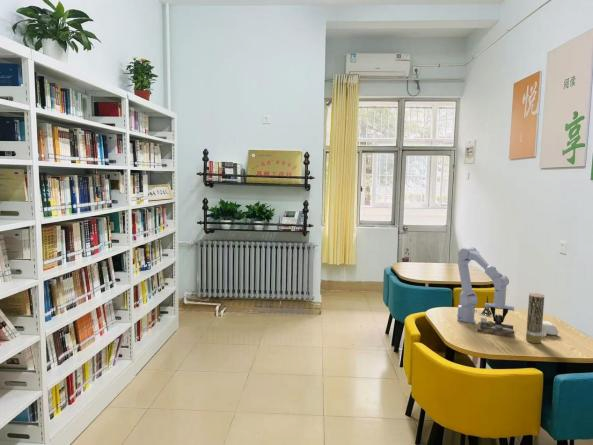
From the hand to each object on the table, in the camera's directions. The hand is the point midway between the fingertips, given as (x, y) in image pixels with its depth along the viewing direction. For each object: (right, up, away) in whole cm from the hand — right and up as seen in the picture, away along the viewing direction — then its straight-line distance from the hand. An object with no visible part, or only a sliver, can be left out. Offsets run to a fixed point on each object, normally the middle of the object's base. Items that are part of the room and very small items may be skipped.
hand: (498, 321), depth 223 cm
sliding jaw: (0, -4, 0) cm, 4 cm away
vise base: (-1, -6, +1) cm, 6 cm away
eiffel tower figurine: (+8, -4, +33) cm, 34 cm away
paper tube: (+11, -7, -14) cm, 19 cm away
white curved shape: (+23, -7, -3) cm, 24 cm away
